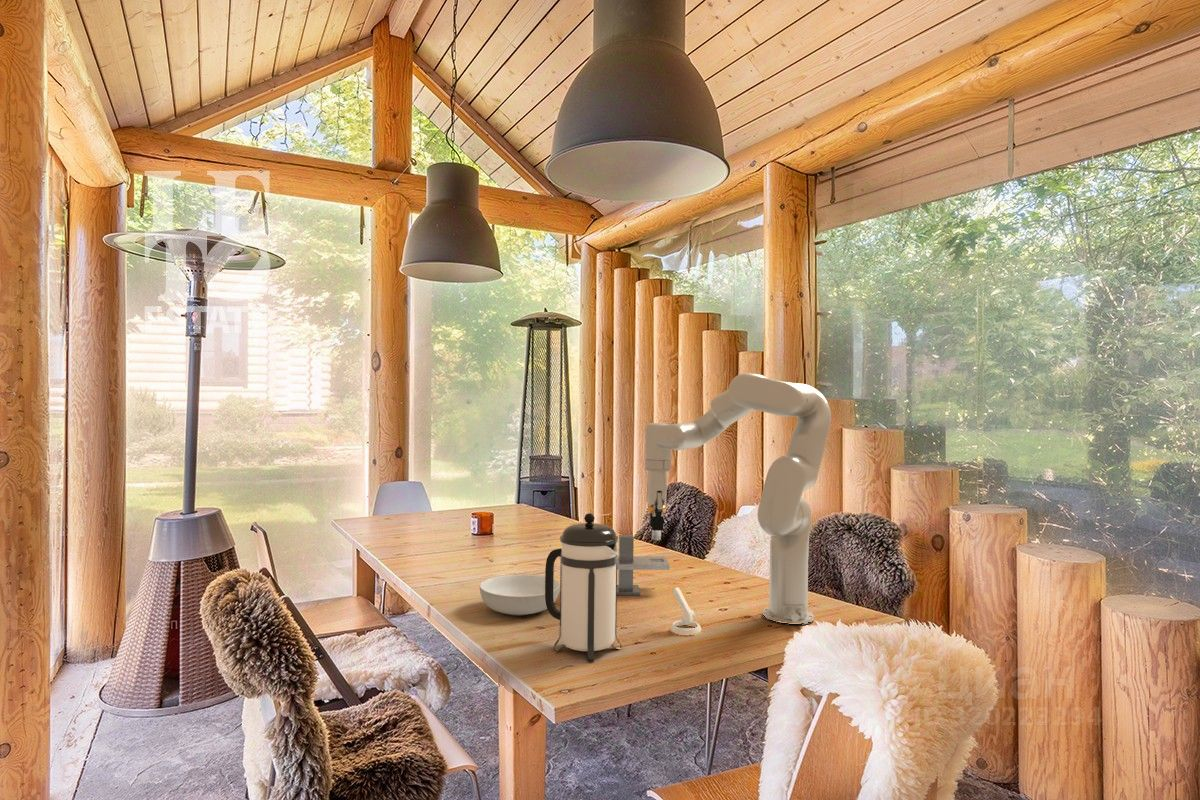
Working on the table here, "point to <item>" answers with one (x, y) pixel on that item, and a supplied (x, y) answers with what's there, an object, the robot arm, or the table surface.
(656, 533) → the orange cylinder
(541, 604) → the serving bowl
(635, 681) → the table surface
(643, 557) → the grey cross bracket
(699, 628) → the white ring with handle
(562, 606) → the coffee press
